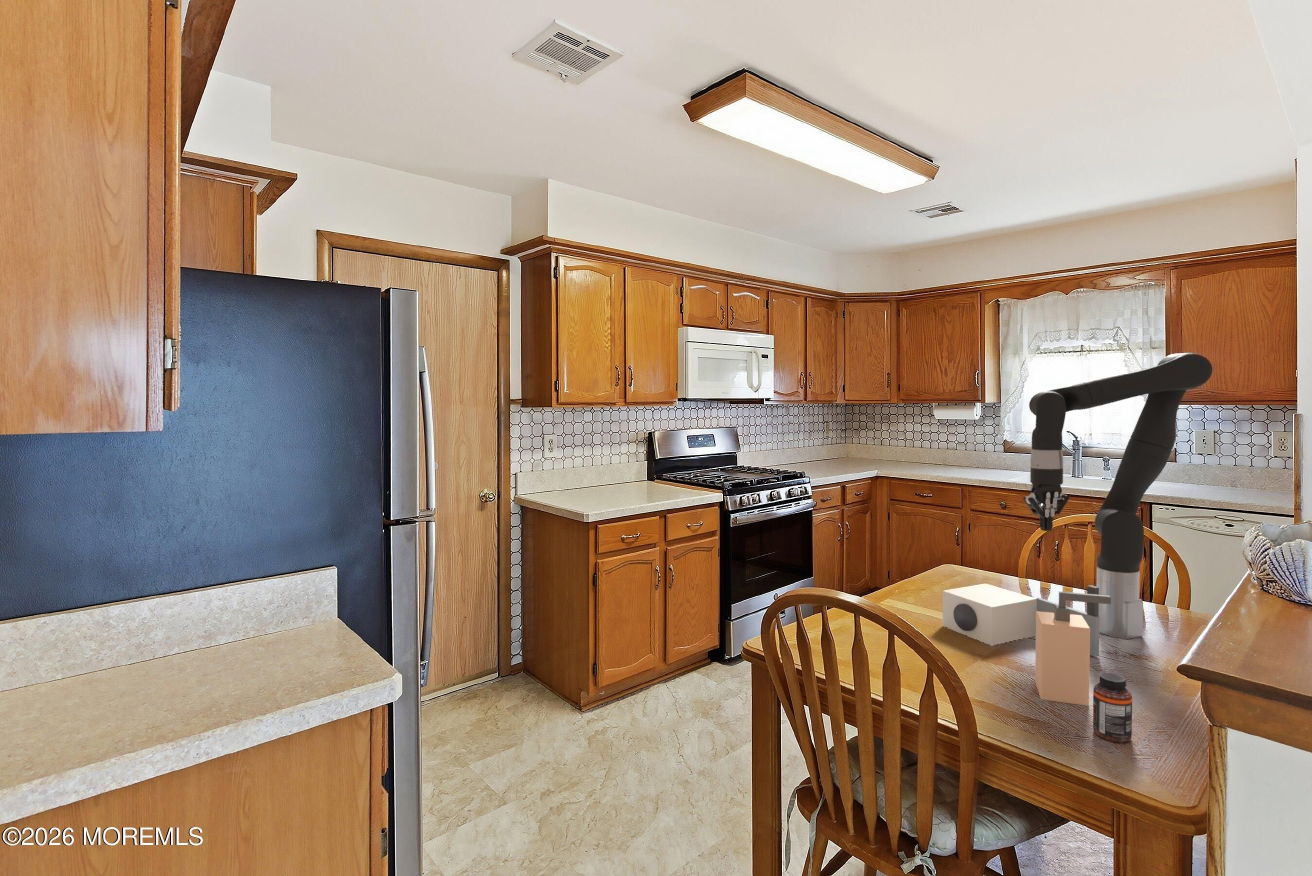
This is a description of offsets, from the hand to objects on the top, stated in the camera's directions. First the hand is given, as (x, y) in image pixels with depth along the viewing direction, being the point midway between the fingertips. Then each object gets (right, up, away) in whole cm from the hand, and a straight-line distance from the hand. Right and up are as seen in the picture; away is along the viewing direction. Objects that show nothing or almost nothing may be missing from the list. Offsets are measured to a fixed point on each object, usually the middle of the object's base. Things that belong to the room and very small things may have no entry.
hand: (1046, 530), depth 174 cm
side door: (-1, -27, -10) cm, 29 cm away
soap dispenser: (-17, -30, -37) cm, 51 cm away
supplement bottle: (-20, -31, -54) cm, 65 cm away
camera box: (-15, -27, +1) cm, 31 cm away
